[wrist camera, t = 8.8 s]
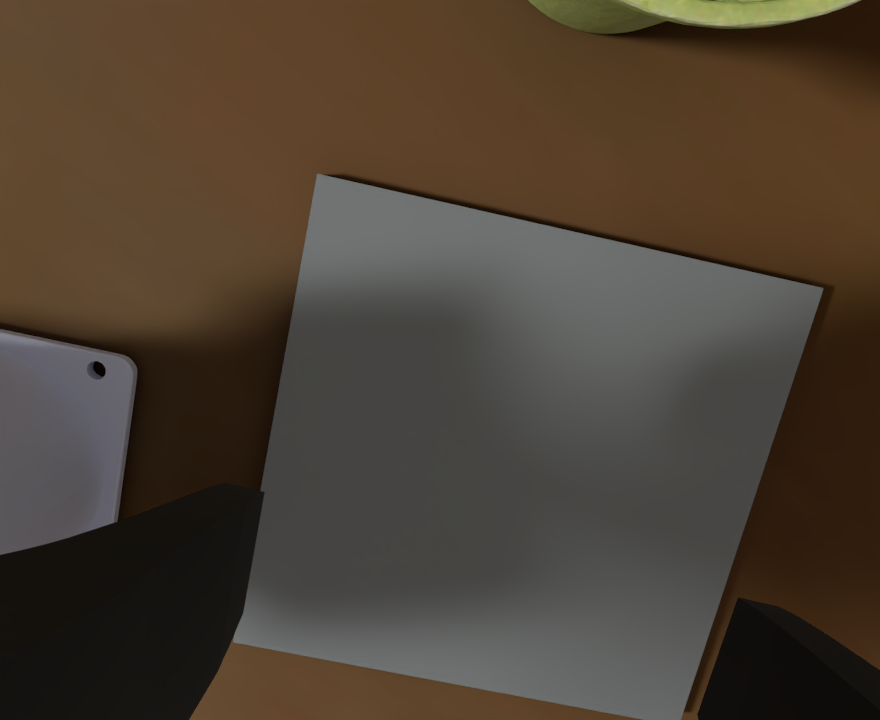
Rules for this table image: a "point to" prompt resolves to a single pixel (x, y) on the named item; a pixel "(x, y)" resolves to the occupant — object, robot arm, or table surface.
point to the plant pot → (682, 13)
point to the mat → (513, 451)
